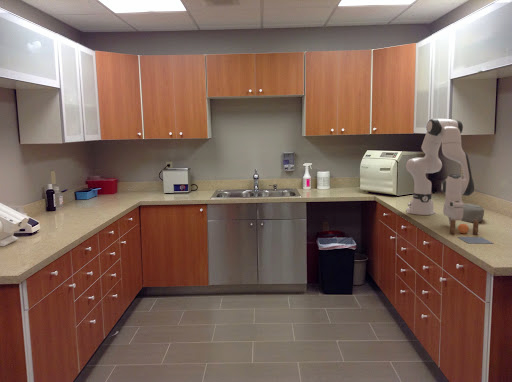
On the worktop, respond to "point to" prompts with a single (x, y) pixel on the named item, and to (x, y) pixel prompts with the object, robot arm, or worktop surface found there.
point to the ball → (463, 228)
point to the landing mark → (475, 240)
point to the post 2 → (475, 227)
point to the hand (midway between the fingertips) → (451, 224)
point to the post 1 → (452, 227)
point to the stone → (472, 212)
